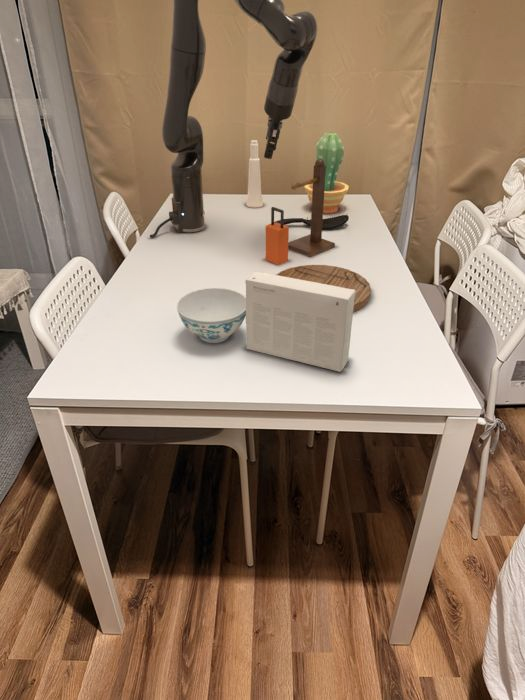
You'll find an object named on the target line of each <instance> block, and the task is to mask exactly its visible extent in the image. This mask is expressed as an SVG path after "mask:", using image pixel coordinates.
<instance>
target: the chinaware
mask: <svg viewBox="0 0 525 700" xmlns="http://www.w3.org/2000/svg"><path fill="white" fill-rule="evenodd" d="M176 310H177V313H178V315H179V316H178V317H179V318H180V320H181V322H182V323H183V325H184V327H185V328H186V329H187V330H188V331H189V332H191V333H192V334H193V335H195V336H197V337H199V339H200V340H201V341H203V342H205V343H210V344H217V343H222V342H225V341H226V340H227V339H229V338H230V336H231V335H232V334H234V333H235V332H236V331H237V330H238V329H239V328H240V327H241V326H242V325H243V323H244V321H245V320H246V295H244V294H242V293H241V292H238V291H236V290H233V289H229V288H224V287H223V288H222V287H208V288H202V289H197V290H193V291H191V292H188V293H187V294H184V295H183V296H182V297H180V299H179V300H178V301H177V303H176Z"/></svg>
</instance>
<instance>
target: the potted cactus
mask: <svg viewBox="0 0 525 700" xmlns="http://www.w3.org/2000/svg"><path fill="white" fill-rule="evenodd" d="M344 153H345V146H344V144H343V142H342V139H341V138H340V136H339V134H338V133H337V132H335V133H332V132H328V133H327V132H325V133H324V134H323V135H322V137H320V140H319V141H317V143H316V160H318V159H323V160H324V161H325V166H326V173H325V189H324V205H323V214H333V213H336V212H338V210H339V206H340V205H341V204H342V203H343V201H344V198H345V196H346V194H348V192H349V186H350V185H348V184H346V183H345V182H342V181H338V180H337V178H338V172H339V169H340V166H341V164H342V163H343V160H344ZM304 191H305V193H307V197H308V200H309V202H310V204H311V205H312V192H313V183H312V184H309V185H305V186H304Z"/></svg>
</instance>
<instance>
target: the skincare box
mask: <svg viewBox="0 0 525 700" xmlns="http://www.w3.org/2000/svg"><path fill="white" fill-rule="evenodd" d="M245 297H246V316H245V328H246V329H245V331H246V332H245V333H246V334H245V337H246V338H245V341H246V342H245V343H246V344H245V349H247V350H249V351H254V352H258V353H261V354H267V355H270V356H274V357H278V358H282V359H286V360H290V361H295V362H298V363H301V364H302V363H303V364H306V365H311V366H313V367H314V366H315V367H318V368H323V369H327V370H331V371H334V372H339V373H341V372H342V371H343V370H344V368H345V367H346V365H347V364H348V361H349V354H350V345H351V337H352V327H353V326H352V324H353V316H354V312H353V308H354V299H355V290H353V289H347V288H342V287H337V286H332V285H327V284H321V283H316V282H311V281H305V280H300V279H294V278H289V277H284V276H278V275H277V274H273V273H268V272H261V271H254V272H253V273H252V274H251V275H250V276H248V277H246V279H245Z"/></svg>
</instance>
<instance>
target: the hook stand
mask: <svg viewBox="0 0 525 700" xmlns="http://www.w3.org/2000/svg"><path fill="white" fill-rule="evenodd" d="M325 173H326V166H325V161H324V160H323V159H318V160H317V159H316V160H315V162H314V165H313V175H312V178H309V179H307V180H303V181H299V182H292V183H291V185H290V188H291V190H295V191H296V190H297V189H298V188H301V187H302V188H303V187H305V185H309V184H312V183H313V192H312V204H311V216H310V219H311V227H310V234H307V235H304V236H301V237H298V238H296V239H293V240H290V241H288V250H291V251H293V252H296V253H299V254H301V255H304V256H306V257H309V258H311V257H314V256H316V255H319V254H321V253H324V252H326V251H329V250H330V249H333V248H335V246H336V242H333V241H330V240H327V239H324V238H322V236H323V230H322V222H323V219H324V213H323V205H324V189H325Z"/></svg>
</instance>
